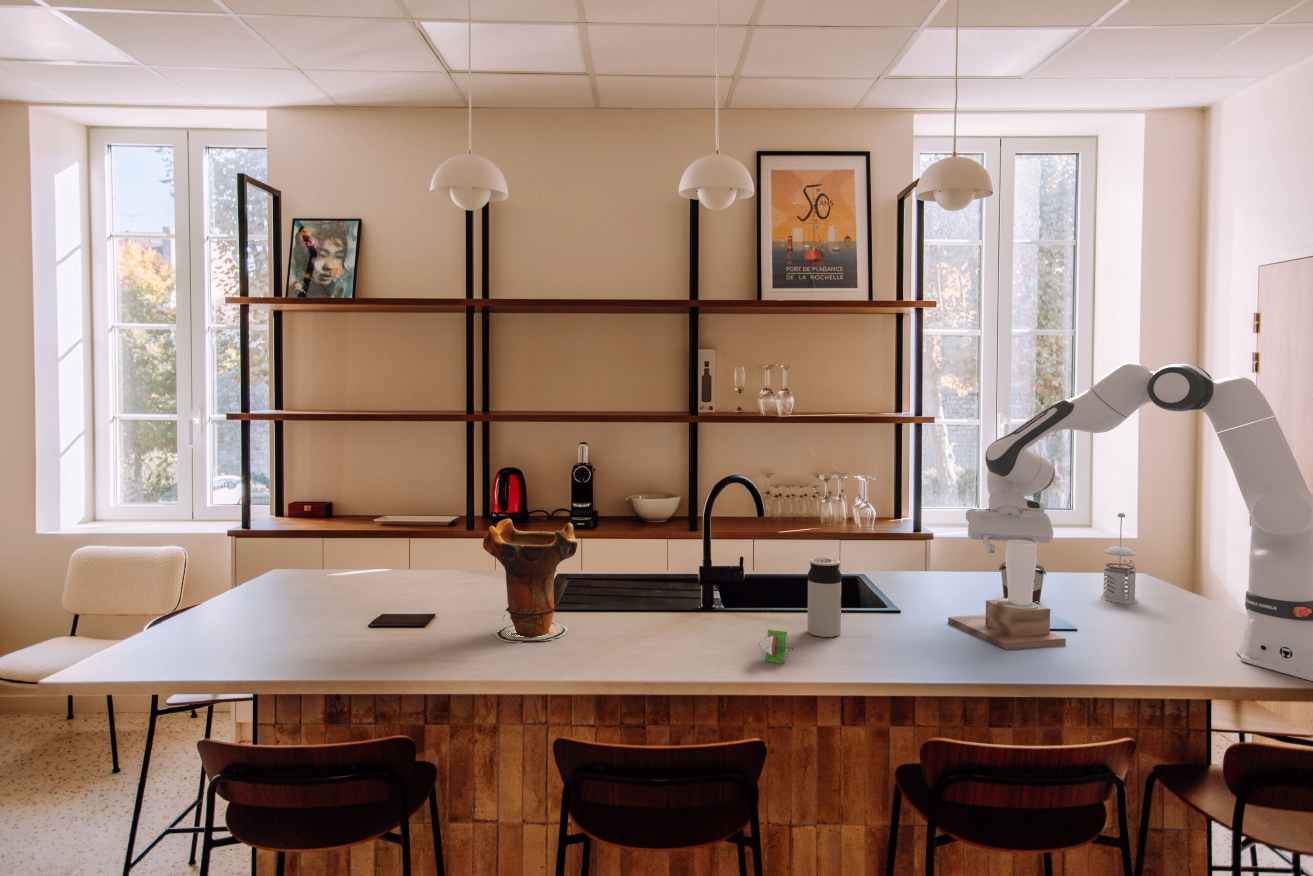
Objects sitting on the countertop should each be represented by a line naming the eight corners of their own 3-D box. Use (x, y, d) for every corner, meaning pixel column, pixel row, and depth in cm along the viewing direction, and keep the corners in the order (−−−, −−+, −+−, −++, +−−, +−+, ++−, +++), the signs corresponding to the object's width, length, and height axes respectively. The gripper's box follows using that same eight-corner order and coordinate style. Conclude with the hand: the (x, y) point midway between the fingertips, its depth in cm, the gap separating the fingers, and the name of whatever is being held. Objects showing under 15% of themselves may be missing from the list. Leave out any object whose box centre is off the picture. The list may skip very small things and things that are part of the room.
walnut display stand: (1065, 644, 175) (1066, 611, 175) (1006, 649, 172) (1006, 616, 171) (1002, 618, 197) (1002, 589, 196) (948, 622, 193) (948, 592, 193)
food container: (1047, 598, 217) (1048, 564, 217) (1045, 603, 212) (1046, 568, 212) (1001, 593, 224) (1002, 559, 223) (998, 597, 219) (998, 563, 218)
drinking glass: (1039, 608, 178) (1040, 545, 178) (1008, 606, 180) (1009, 544, 179) (1031, 600, 185) (1032, 540, 184) (1001, 599, 186) (1002, 539, 186)
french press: (1128, 595, 221) (1130, 510, 220) (1149, 605, 210) (1152, 516, 209) (1092, 594, 222) (1095, 510, 221) (1112, 604, 211) (1115, 516, 210)
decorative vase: (581, 642, 176) (574, 523, 174) (481, 650, 174) (474, 530, 173) (583, 618, 196) (577, 511, 195) (494, 624, 195) (488, 517, 194)
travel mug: (805, 636, 182) (805, 562, 181) (810, 627, 190) (810, 556, 189) (838, 639, 179) (839, 565, 179) (842, 630, 187) (843, 558, 186)
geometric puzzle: (766, 642, 171) (761, 620, 166) (796, 645, 168) (792, 623, 163) (760, 669, 166) (754, 647, 161) (791, 673, 163) (786, 651, 158)
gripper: (966, 501, 202) (968, 543, 194) (1050, 504, 196) (1057, 548, 187) (964, 515, 207) (966, 557, 198) (1047, 518, 201) (1053, 562, 192)
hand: (1011, 553), depth 193 cm, fingers open, 8 cm apart
